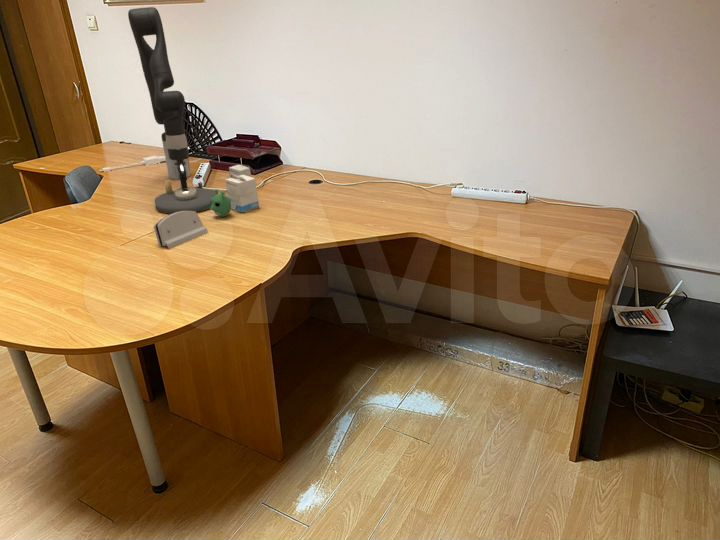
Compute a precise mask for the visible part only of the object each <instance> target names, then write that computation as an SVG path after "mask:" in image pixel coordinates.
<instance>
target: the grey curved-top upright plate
mask: <svg viewBox="0 0 720 540" xmlns="http://www.w3.org/2000/svg"><path fill="white" fill-rule="evenodd" d="M153 228H154V232H155V236H156V239H157V244H158V246H159V247H164V246H167V249H168V250H171V249H174V248H177V247H179V246H182V245H184V244H185V242H186V243H189V242H191V241H192V239H193V240H195V238H196V239H198V238H200V237H199V236H201V237H203V236H205V235H208V234H209V230H208V229H207V228H206V227H205V225H204V224H203V222H202V220H201V218H200V216H199V214H198V212H195V211H180V212H176V213H173V214H170V213H169V214H168V215H166V216H164V217H163V218H161V219H160V220H158V221H157V222H156V223H155V224H154V225H153ZM207 233H208V234H207ZM204 234H205V235H204ZM202 235H203V236H202ZM197 237H198V238H197ZM190 240H191V241H190ZM188 241H189V242H188ZM183 243H184V244H183Z"/></svg>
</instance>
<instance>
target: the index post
mask: <svg viewBox="0 0 720 540" xmlns="http://www.w3.org/2000/svg"><path fill="white" fill-rule="evenodd" d="M197 186H198V188H203V182H197ZM203 189H204V188H203Z"/></svg>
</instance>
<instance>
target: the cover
mask: <svg viewBox="0 0 720 540" xmlns="http://www.w3.org/2000/svg"><path fill="white" fill-rule="evenodd" d="M196 188H197V187H190V186H187V187H185V188H181V187H180V188H177V189H175V190H174V191H175V197H176V200H178V201H189V200H193V199H196V198H197V192H196Z"/></svg>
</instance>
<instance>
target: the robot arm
mask: <svg viewBox="0 0 720 540" xmlns="http://www.w3.org/2000/svg"><path fill="white" fill-rule="evenodd" d="M127 15H128V22H129V26H130V29H131V33H132V35H133V39H134V40H135V44H136V46H137V47H136V48H137V49H138V55H139V58H140V63H141V64H140V65H141V68H142V71H143V75H144V79H145V82H146V86H147V89H148V93H149V98H150V103H151V108H152V112H153V117H154V120H155V122H156V123H157V124H158V125H163V127H164V132H162V133H161V142H162V146H163V151H164V152H163V154H164V156H165V159H166V161H165V164H166V168H167V175H168V179H169V180H179V182H180V183H179V184H180V188H185V187H188V183H187V181H188V178H189V177H190V176H191V175H192V173H191V168H190V167H191V166H190V160H189V158H190V153H189V152H190V151H189V146H188V140H187V139H188V138H187V136H186V133H185V132H186V131H185V125H184V112H185V105H186V104H185V102H186V100H185V96H184V94H183V93H182V92H181V91H179V90H169V91H168V90H167V89H170V88H172V87H173V86H174V84H175V80H174V77H173V73H172V70H171V69H172V68H171V66H170V61H169V56H168V50H167V49H168V48H167V44H166V37H165V32H164V31H165V30H164V27H163V21H162V19H161V15H160V13H159V10H158V9H157V8H156V7H154V6H152V7H151V6H149V7H138V8H131V9H129V10H128V13H127ZM146 36H147V37H148V36H155V39H156V40H155V45H154V48H152V47H151V46H150V44H149V43H148V42H147V41H146V39H145V38H144V37H146Z"/></svg>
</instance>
